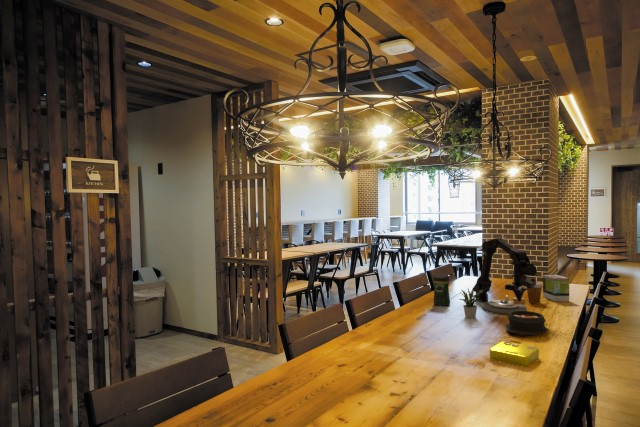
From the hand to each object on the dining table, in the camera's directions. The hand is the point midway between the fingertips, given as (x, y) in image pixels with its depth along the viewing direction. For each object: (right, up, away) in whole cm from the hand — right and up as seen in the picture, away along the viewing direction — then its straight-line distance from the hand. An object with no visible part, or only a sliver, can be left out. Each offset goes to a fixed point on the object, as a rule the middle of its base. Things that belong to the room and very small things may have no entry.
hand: (519, 301), depth 248 cm
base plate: (-5, -7, +8) cm, 12 cm away
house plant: (-30, -8, -9) cm, 32 cm away
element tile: (-35, -9, -73) cm, 81 cm away
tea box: (+39, -6, +35) cm, 53 cm away
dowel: (0, -5, +17) cm, 17 cm away
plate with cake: (-4, -4, +8) cm, 10 cm away
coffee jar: (-37, -7, +24) cm, 45 cm away
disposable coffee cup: (+21, -6, +26) cm, 34 cm away
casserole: (-13, -8, -36) cm, 39 cm away
